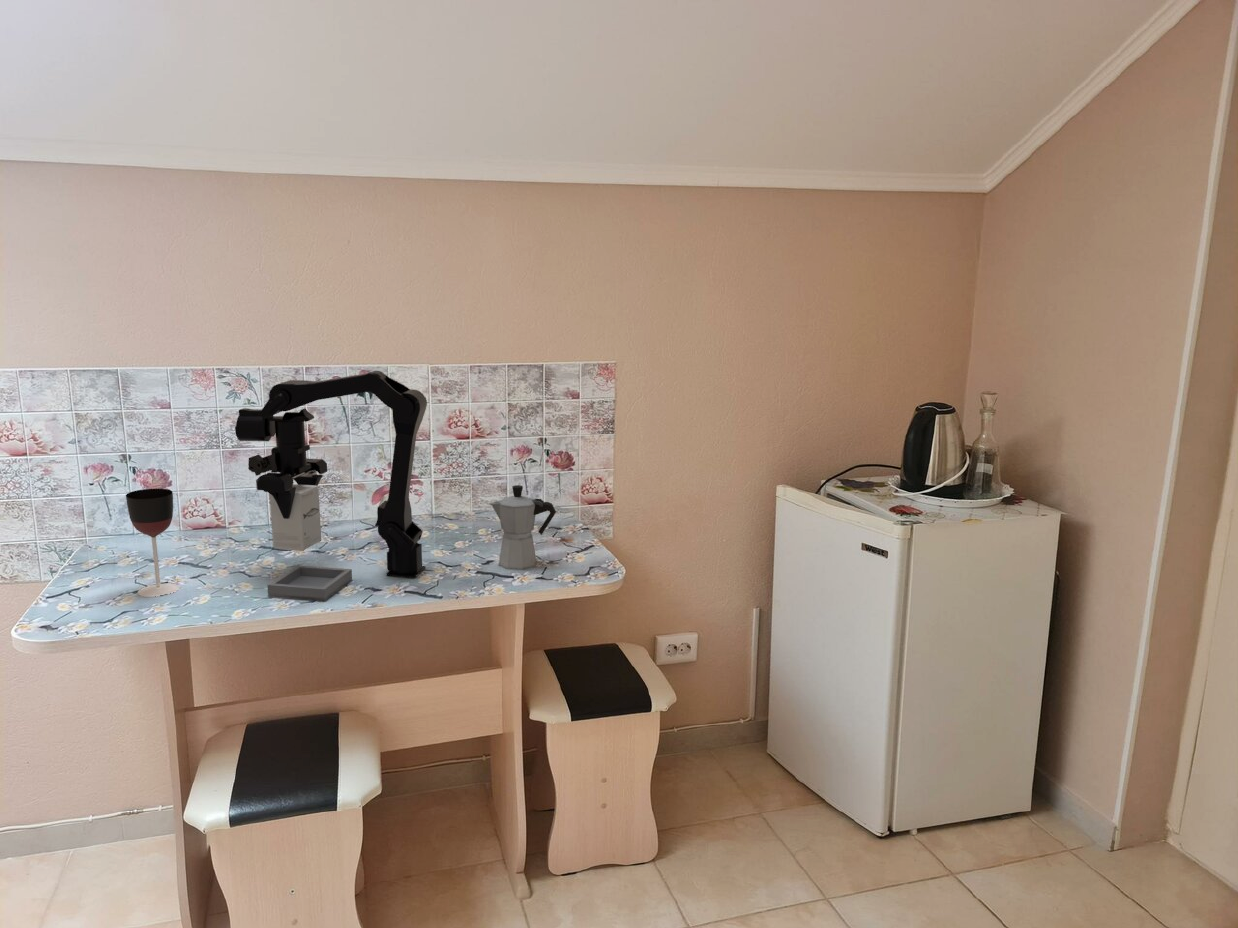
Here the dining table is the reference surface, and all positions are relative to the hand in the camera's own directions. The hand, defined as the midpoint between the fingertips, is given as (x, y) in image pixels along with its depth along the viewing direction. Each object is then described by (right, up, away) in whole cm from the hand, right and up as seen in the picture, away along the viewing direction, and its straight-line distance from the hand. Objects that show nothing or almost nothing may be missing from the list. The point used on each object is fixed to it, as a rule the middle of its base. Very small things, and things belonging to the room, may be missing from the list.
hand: (295, 513), depth 184 cm
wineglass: (-24, -15, -10) cm, 30 cm away
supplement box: (0, -7, +2) cm, 7 cm away
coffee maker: (+47, -12, +10) cm, 50 cm away
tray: (+6, -15, -8) cm, 18 cm away
